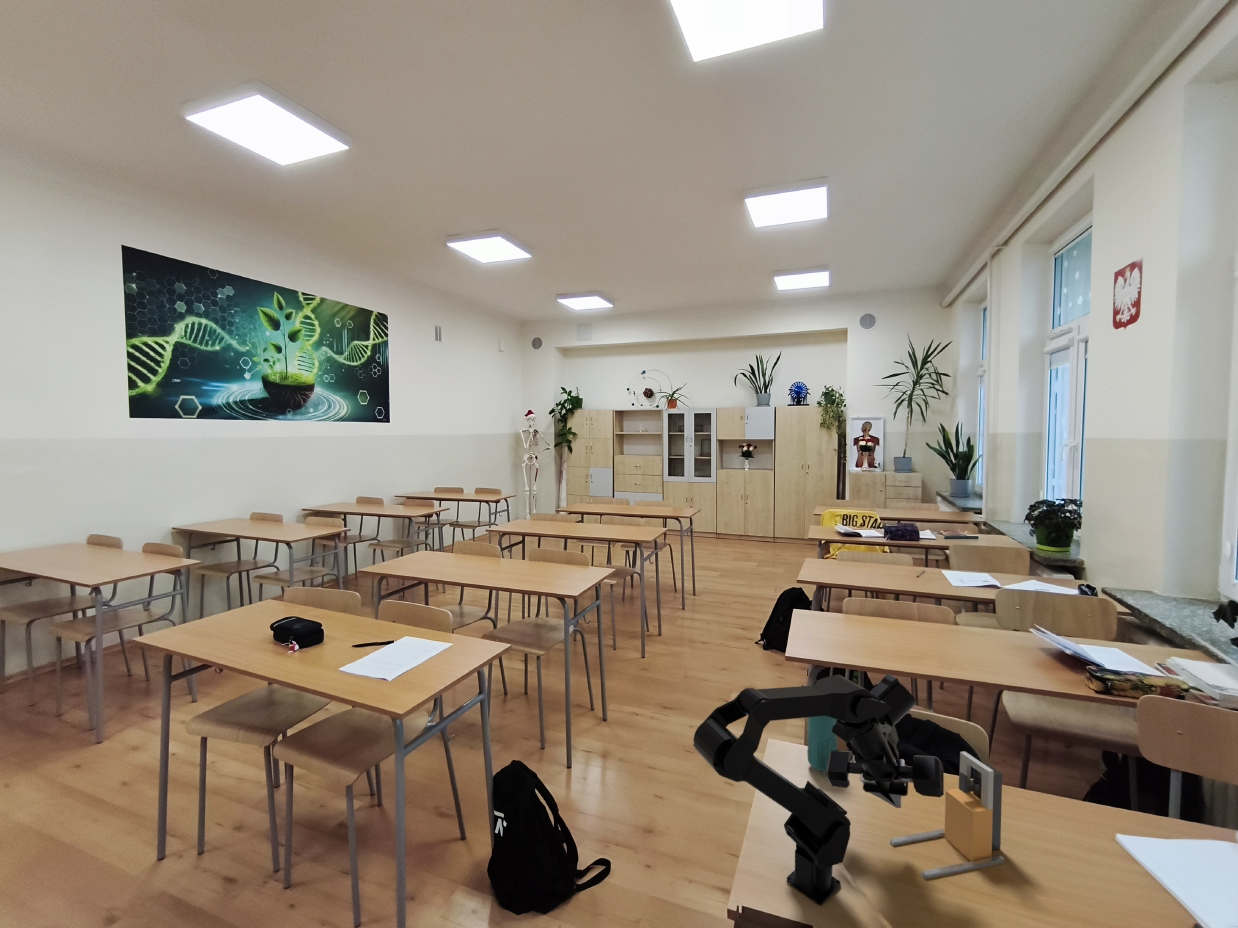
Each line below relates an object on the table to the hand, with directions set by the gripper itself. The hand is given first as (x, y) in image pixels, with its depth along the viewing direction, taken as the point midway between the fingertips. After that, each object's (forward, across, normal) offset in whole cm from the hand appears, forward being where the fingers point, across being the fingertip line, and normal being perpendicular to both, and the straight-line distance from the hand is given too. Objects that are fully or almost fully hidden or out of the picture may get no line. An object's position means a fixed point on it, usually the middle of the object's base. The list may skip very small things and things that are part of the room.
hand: (898, 805), depth 98 cm
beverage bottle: (+10, +20, -14) cm, 26 cm away
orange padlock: (+12, -8, -2) cm, 14 cm away
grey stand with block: (+11, -5, +1) cm, 12 cm away
